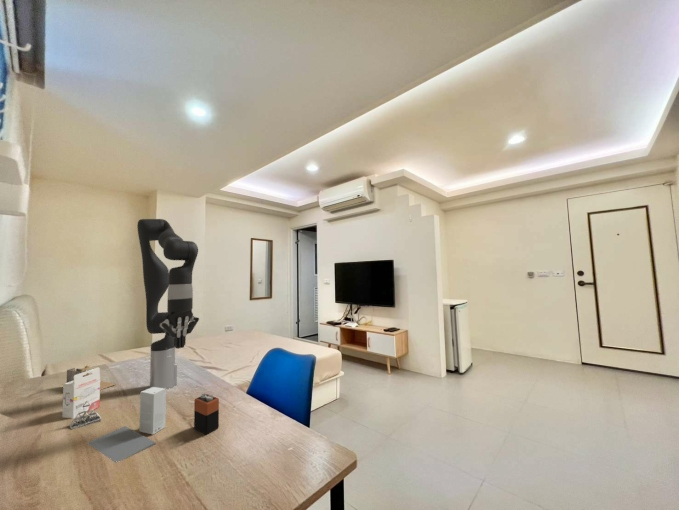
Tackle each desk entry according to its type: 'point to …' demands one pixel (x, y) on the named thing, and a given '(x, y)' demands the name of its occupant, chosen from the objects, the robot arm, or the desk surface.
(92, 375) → the ink cartridge box
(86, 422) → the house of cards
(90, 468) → the desk surface
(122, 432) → the mat
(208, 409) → the battery
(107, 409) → the desk surface
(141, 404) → the skincare box
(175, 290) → the robot arm
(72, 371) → the ruin model on sheet
